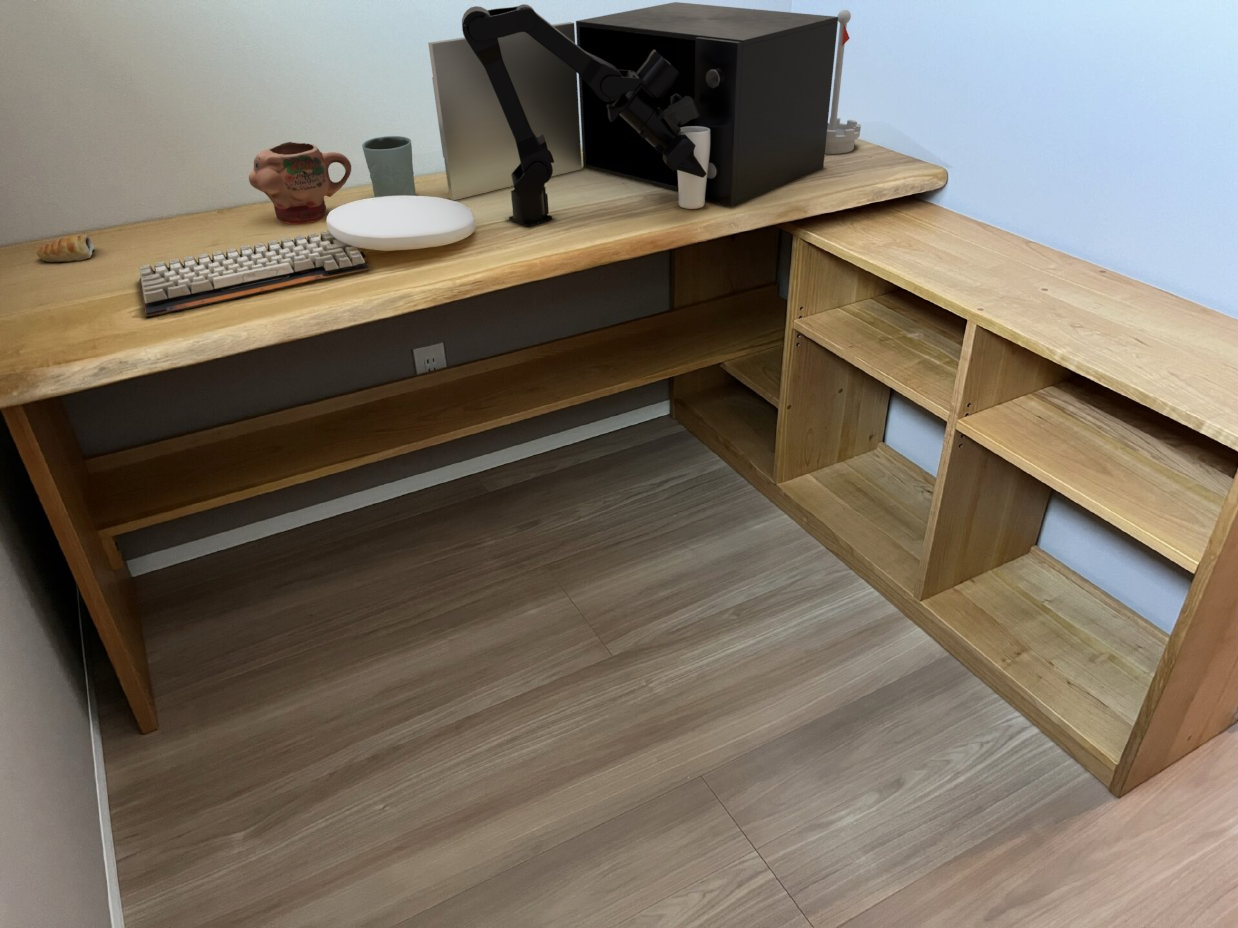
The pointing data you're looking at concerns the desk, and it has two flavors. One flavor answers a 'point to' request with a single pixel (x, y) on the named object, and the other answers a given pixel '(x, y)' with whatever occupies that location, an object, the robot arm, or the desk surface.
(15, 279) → the desk surface
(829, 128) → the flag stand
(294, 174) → the sculpted ceramic mug
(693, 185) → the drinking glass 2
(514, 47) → the microwave door
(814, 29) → the microwave
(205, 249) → the desk surface
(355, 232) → the white round disc
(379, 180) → the green cup
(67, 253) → the pastry
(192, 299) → the mechanical keyboard
